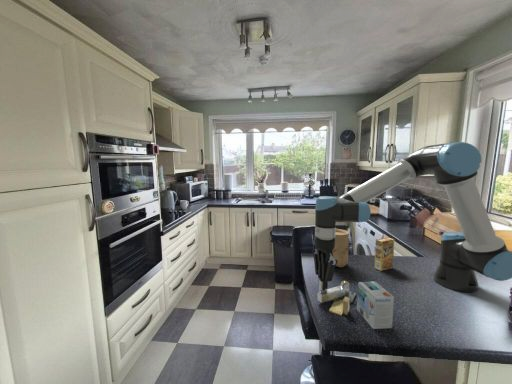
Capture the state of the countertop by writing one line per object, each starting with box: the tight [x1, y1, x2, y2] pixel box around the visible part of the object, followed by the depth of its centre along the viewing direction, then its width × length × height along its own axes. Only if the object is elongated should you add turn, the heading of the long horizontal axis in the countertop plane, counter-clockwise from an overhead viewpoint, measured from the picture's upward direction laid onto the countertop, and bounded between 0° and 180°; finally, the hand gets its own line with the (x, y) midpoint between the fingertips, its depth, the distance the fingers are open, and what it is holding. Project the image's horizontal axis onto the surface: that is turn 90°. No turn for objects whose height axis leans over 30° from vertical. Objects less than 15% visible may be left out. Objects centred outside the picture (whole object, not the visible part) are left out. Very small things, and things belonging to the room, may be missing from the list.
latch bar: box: [316, 280, 350, 304], centre depth 90 cm, size 15×3×5 cm, turn 115°
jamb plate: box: [338, 290, 357, 304], centre depth 92 cm, size 7×7×1 cm
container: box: [332, 228, 350, 268], centre depth 122 cm, size 13×13×18 cm
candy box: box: [374, 237, 395, 272], centre depth 118 cm, size 9×4×15 cm, turn 113°
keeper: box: [328, 297, 351, 317], centre depth 85 cm, size 6×10×5 cm, turn 145°
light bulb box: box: [356, 280, 395, 330], centre depth 78 cm, size 11×7×11 cm, turn 5°
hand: (322, 295), depth 90 cm, fingers closed
